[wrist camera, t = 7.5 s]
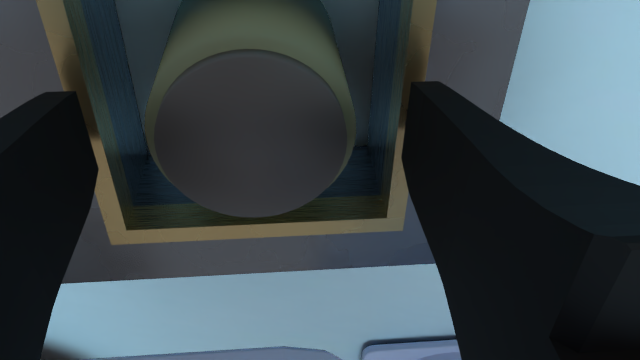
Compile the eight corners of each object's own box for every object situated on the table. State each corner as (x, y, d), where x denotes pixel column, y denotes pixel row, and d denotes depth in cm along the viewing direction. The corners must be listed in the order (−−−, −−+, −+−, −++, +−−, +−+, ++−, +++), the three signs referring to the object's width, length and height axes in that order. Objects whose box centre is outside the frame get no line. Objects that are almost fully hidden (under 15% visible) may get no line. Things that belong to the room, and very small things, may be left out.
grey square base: (443, 211, 20) (472, 285, 17) (74, 228, 19) (42, 309, 16) (535, -240, 12) (619, -239, 9) (-97, -252, 11) (-220, -255, 8)
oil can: (330, 113, 17) (352, 221, 13) (183, 116, 17) (159, 229, 13) (337, -37, 14) (366, 43, 10) (160, -37, 14) (120, 46, 10)
